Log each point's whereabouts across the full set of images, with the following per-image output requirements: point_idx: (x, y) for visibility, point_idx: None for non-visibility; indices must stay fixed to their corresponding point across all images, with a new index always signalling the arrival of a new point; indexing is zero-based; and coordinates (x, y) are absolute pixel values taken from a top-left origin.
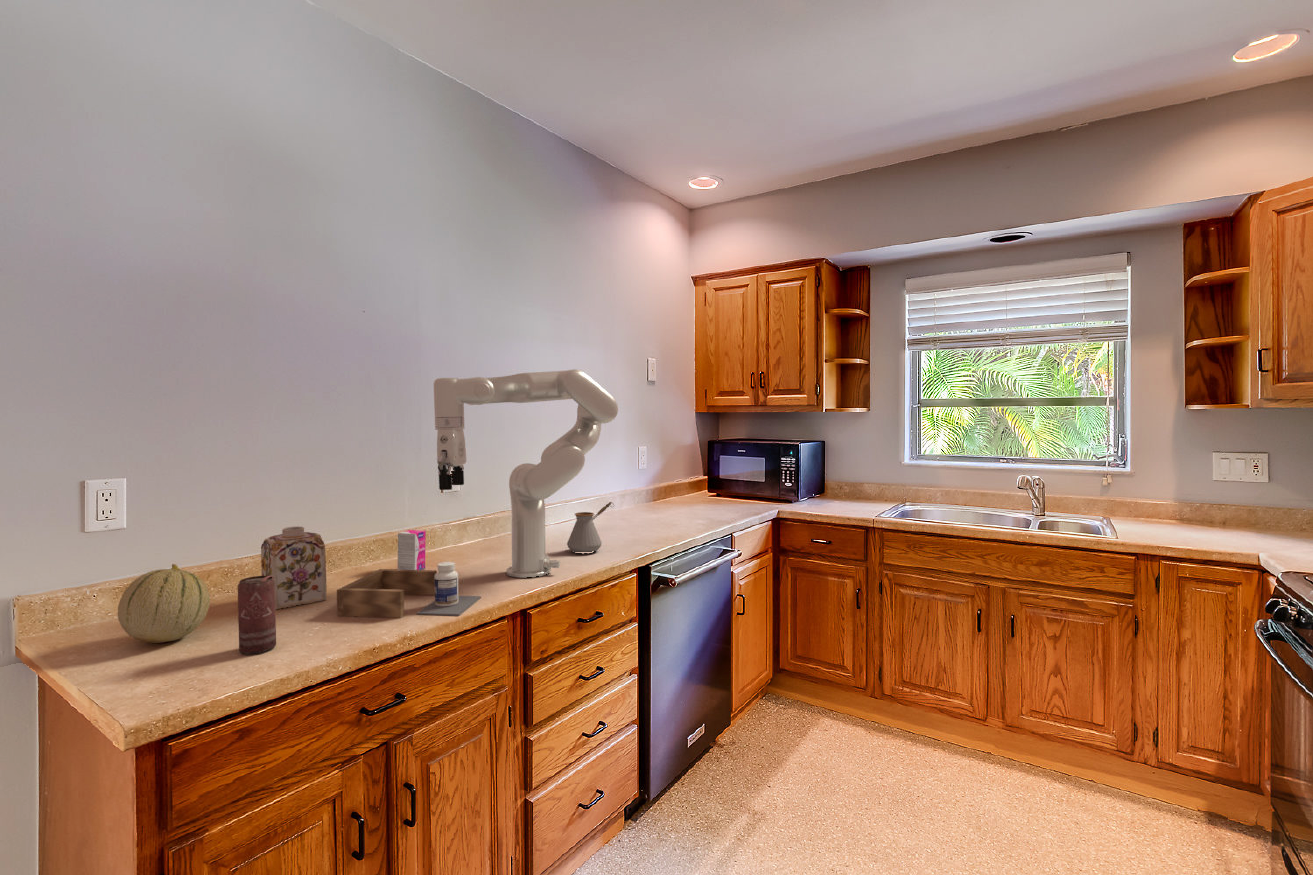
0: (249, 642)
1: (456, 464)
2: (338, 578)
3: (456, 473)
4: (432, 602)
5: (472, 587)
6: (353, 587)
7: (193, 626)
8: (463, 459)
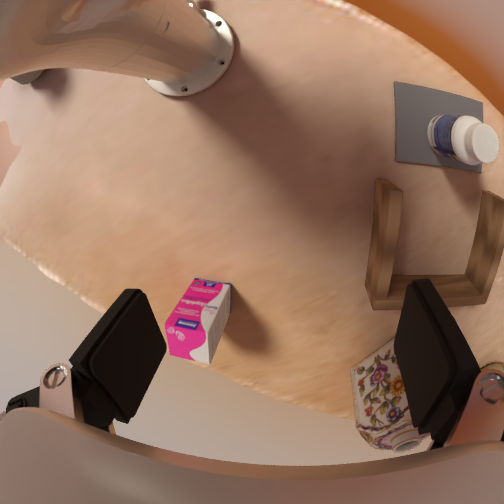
0: None
1: (497, 455)
2: (282, 368)
3: (121, 385)
4: (437, 164)
5: (323, 120)
6: (466, 294)
7: (498, 364)
8: (74, 495)
